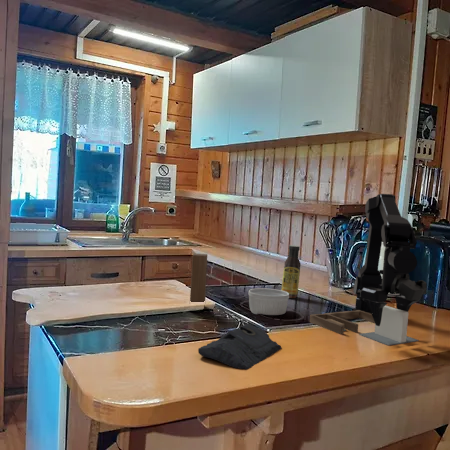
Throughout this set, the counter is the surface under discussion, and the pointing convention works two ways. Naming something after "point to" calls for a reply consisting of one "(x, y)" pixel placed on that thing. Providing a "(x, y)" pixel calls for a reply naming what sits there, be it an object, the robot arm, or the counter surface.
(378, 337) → the mat
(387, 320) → the board
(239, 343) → the folded dark cloth
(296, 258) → the sauce bottle
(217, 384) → the counter surface
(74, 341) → the counter surface
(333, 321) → the offcut upper
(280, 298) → the ramekin
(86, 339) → the counter surface
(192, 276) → the wooden block
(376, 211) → the robot arm
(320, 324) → the rack
